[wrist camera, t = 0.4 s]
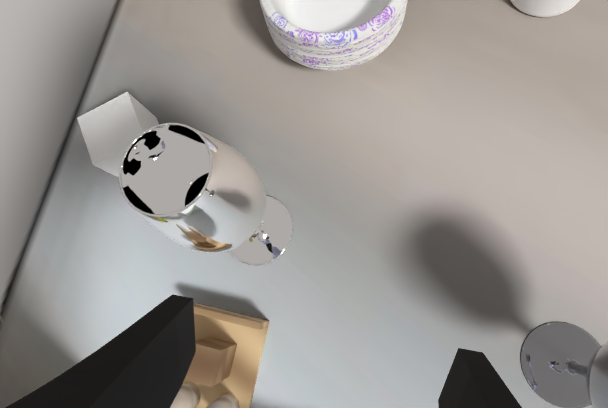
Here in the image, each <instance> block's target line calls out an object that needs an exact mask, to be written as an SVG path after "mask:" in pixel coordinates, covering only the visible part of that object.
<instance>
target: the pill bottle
mask: <svg viewBox="0 0 608 408" xmlns="http://www.w3.org/2000/svg"><path fill="white" fill-rule="evenodd" d="M510 1H511V2H512V4H513V5H514V6H515V7H516V8H517V9H519V10H520V11H522V12H524V13H526V14H528V15H532V16H536V17H552V16H556V15H560V14H562V13H564V12H566V11H568V10H570V9H571V8H572V7H574V6H575V5H576V4H577V3H578V2H579V1H580V0H510Z"/></svg>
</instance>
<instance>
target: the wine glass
mask: <svg viewBox="0 0 608 408" xmlns="http://www.w3.org/2000/svg"><path fill="white" fill-rule="evenodd" d="M521 366H522V370H523V373H524V376H525V378H526V380H527V382H528V384H529V385H530V386H531V388H532V389H533V390H534V391H535V392H536V393H537V394H538V395H539V396H540V397H541V398H543V399H544V400H545V401H547V402H549V403H551V404H553V405H556V406H559V407H562V408H583V407H586V406H589V405H592V407H593V408H608V342H607V343H605V344H604V345H602V346H600V344H599V343H598V342H597V341H596V339H595V338H593V337H592V336H591V335H590V334H589V333H588V332H586V331H585V330H583V329H582V328H579V327H577V326H575V325H572V324H569V323H564V322H551V323H546V324H543V325H541V326H539V327H537V328H536V329H534V330H533V331H532V332H531V333H530V334H529V335H528V336H527V338H526V339H525V341H524V344H523V346H522V350H521Z"/></svg>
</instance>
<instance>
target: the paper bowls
mask: <svg viewBox="0 0 608 408" xmlns="http://www.w3.org/2000/svg"><path fill="white" fill-rule="evenodd" d="M259 1H260V5H261V8H262V11H263V15H264V18H265V21H266V25H267V27H268V30H269V32H270V35H271V37H272V39H273V41H274V42H275V44H276V45H277V47H278V48H279V49H280V50H281V51H282V53H284V54H285V55H286V56H287V57H289V58H290V59H291V60H293V61H295V62H297V63H299V64H301V65H304V66H306V67H310V68H315V69H321V70H341V69H347V68H351V67H354V66H357V65H360V64H363V63H364V62H366V61H368V60H370V59H372V58H374V57H376V56H378V55H379V54H380V53H382V52H383V51H384V50H385V49H386V48H387V47H388V46H389V45H390V44H391V42H392V41H393V40H394V39H395V37H396V35H397V34H398V32H399V30H400V28H401V26H402V23H403V19H404V16H405V11H406V5H407V0H259Z"/></svg>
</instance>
